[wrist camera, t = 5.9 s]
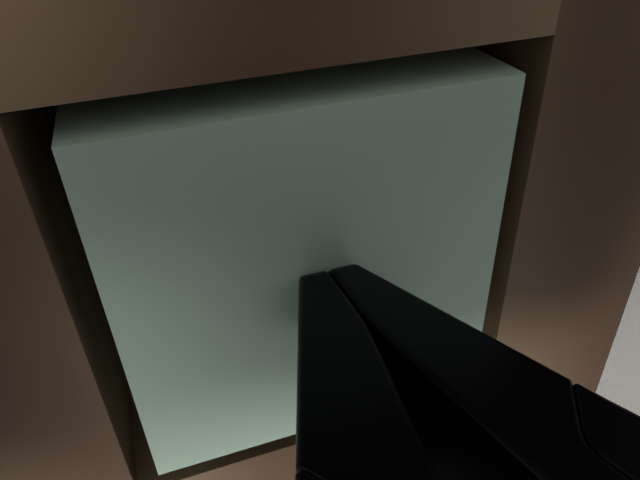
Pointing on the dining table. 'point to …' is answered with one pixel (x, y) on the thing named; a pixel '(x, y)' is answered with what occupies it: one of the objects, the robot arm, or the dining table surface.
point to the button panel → (283, 57)
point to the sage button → (279, 222)
